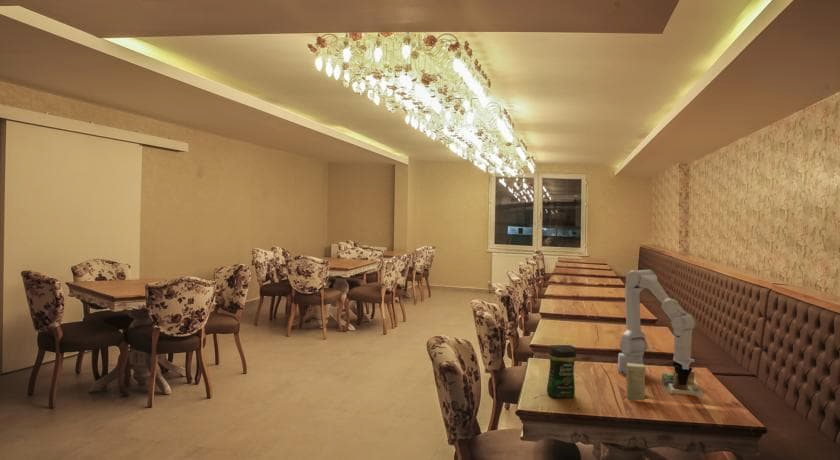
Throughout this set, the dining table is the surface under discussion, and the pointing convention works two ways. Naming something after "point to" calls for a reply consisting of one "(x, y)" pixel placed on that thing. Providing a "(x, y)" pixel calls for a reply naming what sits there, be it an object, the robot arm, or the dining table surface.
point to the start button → (669, 375)
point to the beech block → (691, 378)
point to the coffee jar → (561, 371)
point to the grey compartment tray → (690, 390)
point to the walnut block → (676, 383)
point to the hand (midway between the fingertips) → (681, 383)
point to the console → (667, 379)
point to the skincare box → (635, 381)
